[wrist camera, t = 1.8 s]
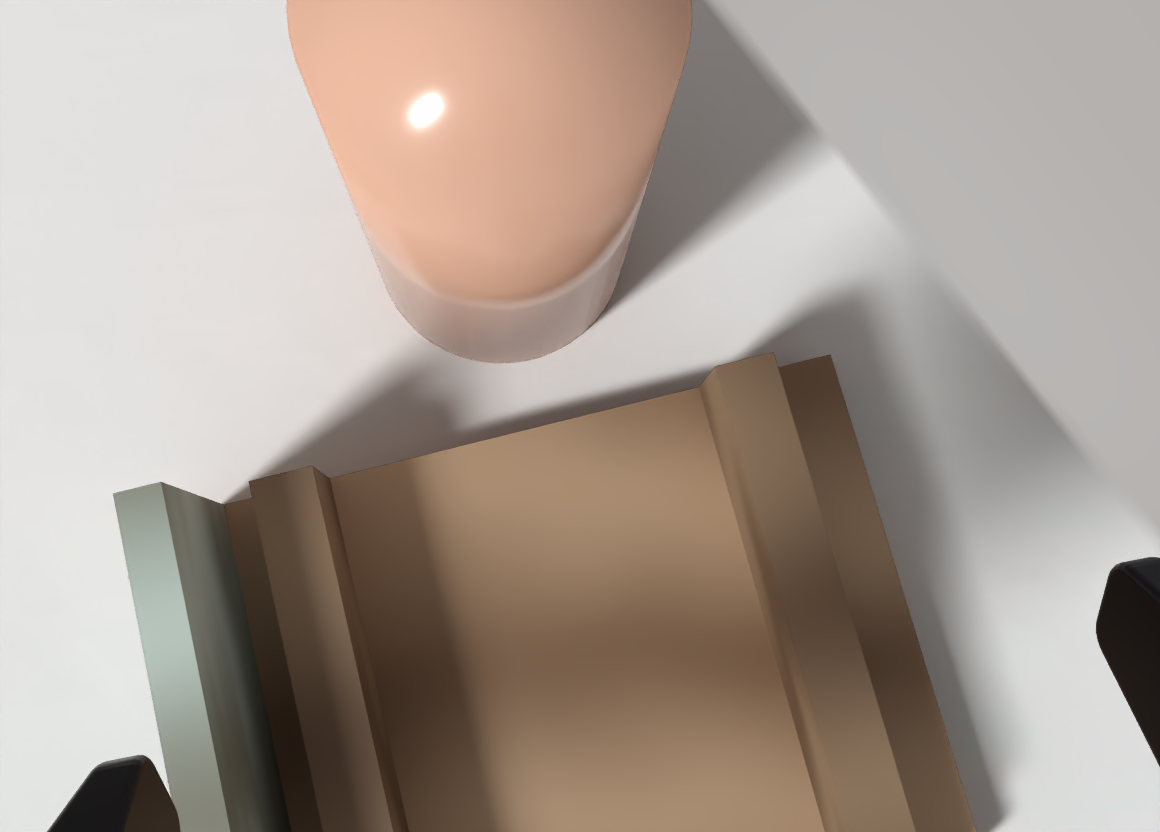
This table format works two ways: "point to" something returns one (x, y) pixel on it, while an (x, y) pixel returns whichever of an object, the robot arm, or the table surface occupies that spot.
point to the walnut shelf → (551, 632)
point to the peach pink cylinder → (494, 151)
